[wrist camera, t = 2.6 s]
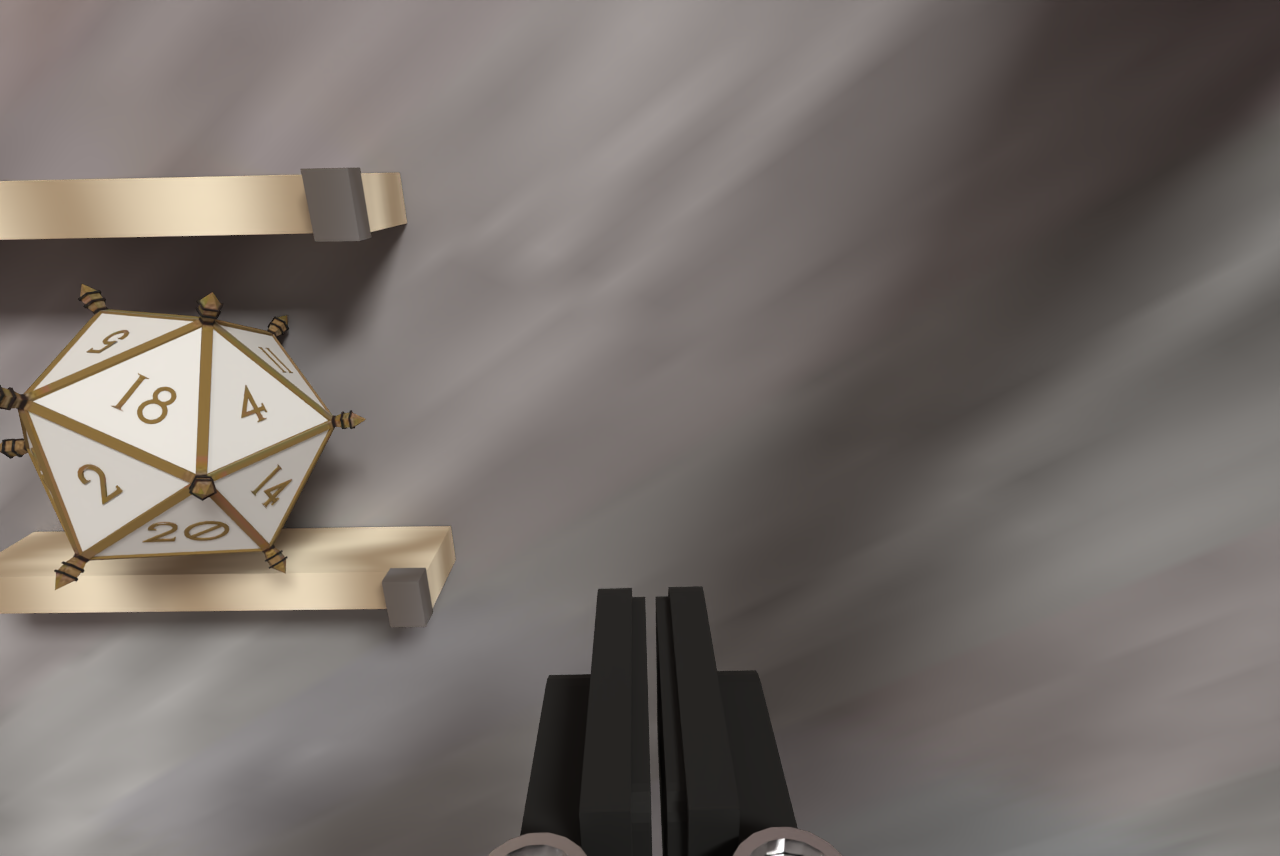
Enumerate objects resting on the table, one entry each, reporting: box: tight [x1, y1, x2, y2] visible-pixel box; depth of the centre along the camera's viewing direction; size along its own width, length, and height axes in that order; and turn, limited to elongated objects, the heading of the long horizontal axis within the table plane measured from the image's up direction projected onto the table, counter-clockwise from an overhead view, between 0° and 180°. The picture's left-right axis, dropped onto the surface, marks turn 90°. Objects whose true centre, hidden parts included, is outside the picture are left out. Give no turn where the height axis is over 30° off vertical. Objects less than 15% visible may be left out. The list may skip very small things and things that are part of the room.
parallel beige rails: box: [0, 168, 456, 627], centre depth 21 cm, size 16×14×4 cm
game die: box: [0, 284, 366, 590], centre depth 19 cm, size 9×8×10 cm
